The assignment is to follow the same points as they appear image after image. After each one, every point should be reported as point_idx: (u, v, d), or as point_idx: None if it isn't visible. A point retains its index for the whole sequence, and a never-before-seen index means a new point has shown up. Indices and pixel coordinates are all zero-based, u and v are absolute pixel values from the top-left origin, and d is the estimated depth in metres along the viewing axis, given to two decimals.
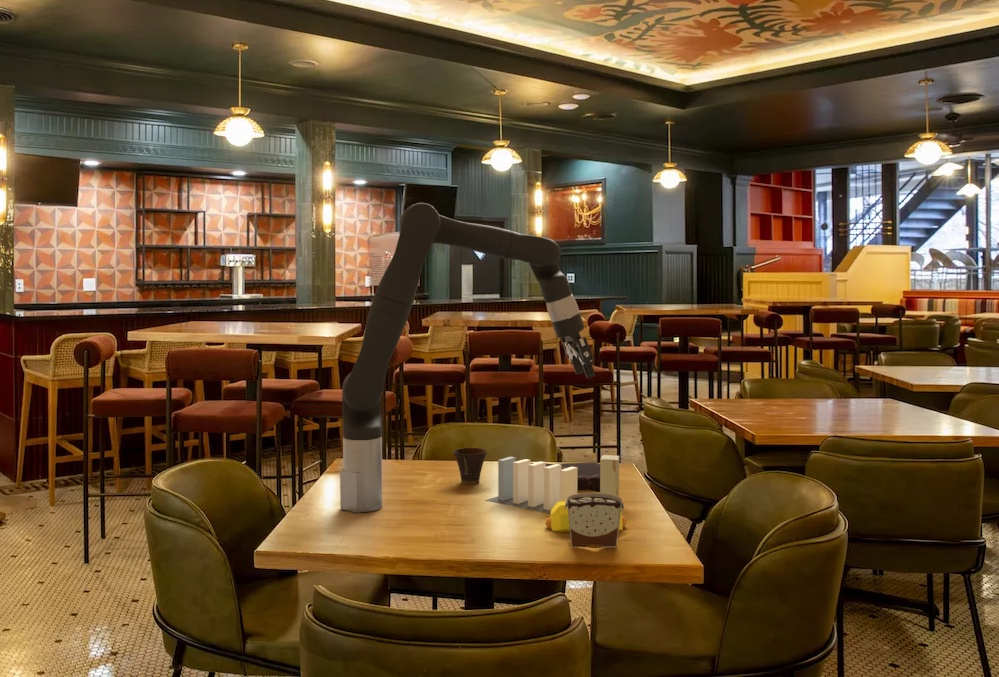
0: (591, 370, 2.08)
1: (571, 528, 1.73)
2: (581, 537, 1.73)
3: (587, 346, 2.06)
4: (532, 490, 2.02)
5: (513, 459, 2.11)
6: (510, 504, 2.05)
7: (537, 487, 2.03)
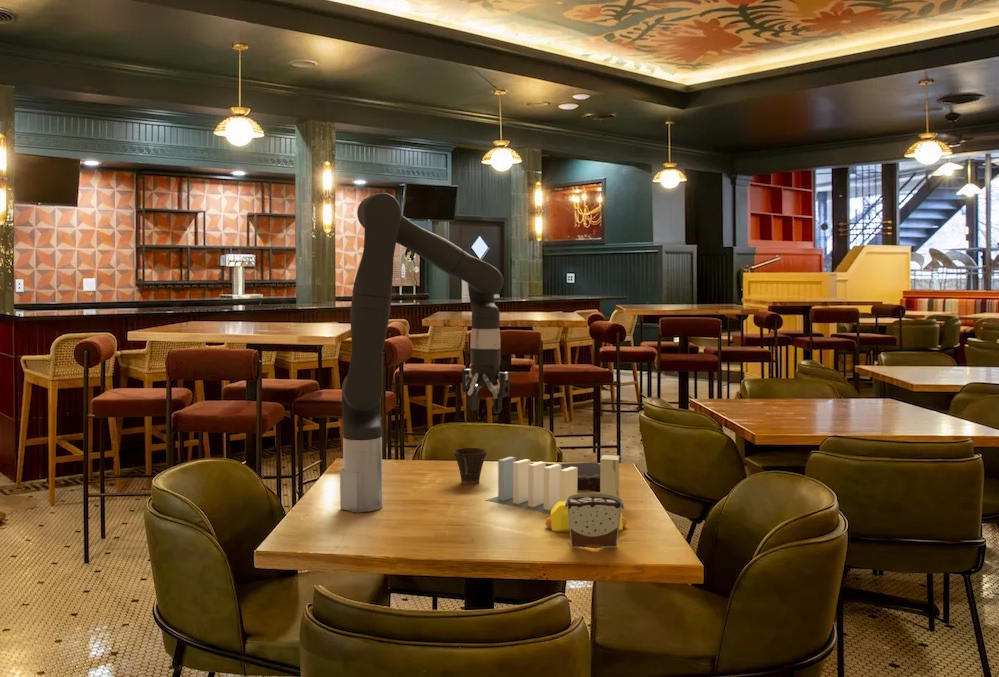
0: (500, 406, 2.11)
1: (571, 528, 1.73)
2: (581, 537, 1.73)
3: (508, 381, 2.09)
4: (532, 490, 2.02)
5: (513, 459, 2.11)
6: (510, 504, 2.05)
7: (537, 487, 2.03)
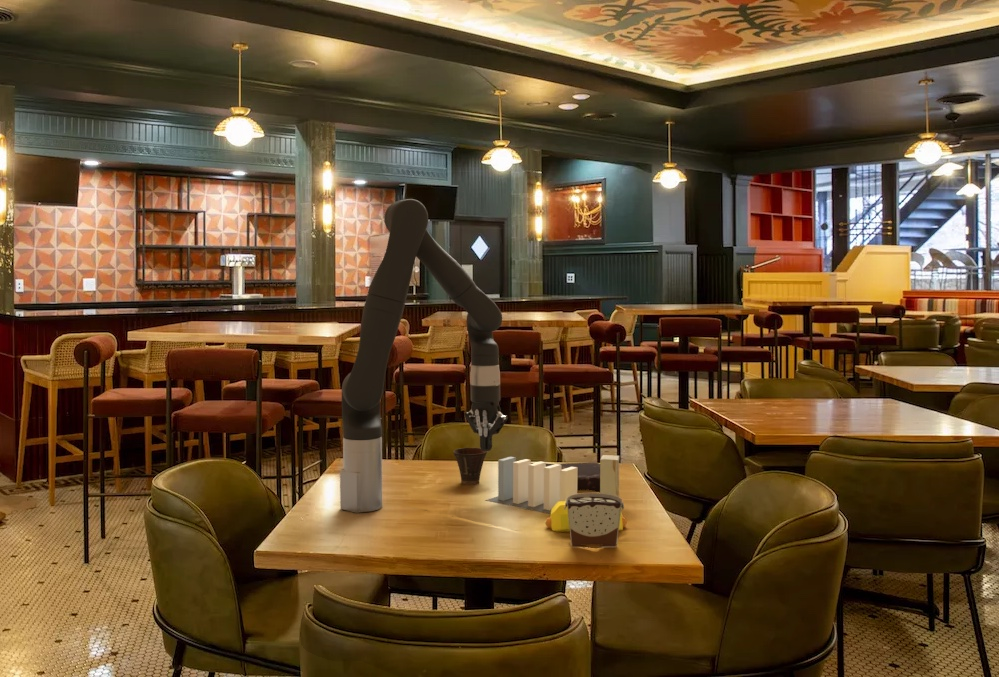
0: (491, 443, 2.13)
1: (571, 528, 1.73)
2: (581, 537, 1.73)
3: (503, 424, 2.11)
4: (532, 490, 2.02)
5: (513, 459, 2.11)
6: (510, 504, 2.05)
7: (537, 487, 2.03)
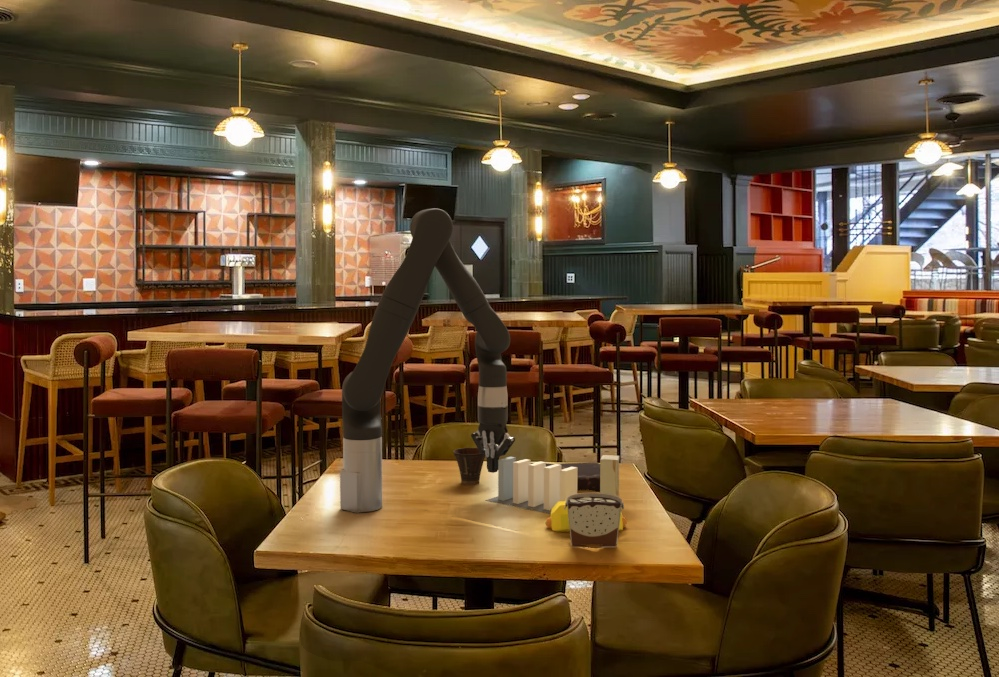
0: (497, 465, 2.12)
1: (571, 528, 1.73)
2: (581, 537, 1.73)
3: (510, 446, 2.10)
4: (532, 490, 2.02)
5: (513, 459, 2.11)
6: (510, 504, 2.05)
7: (537, 487, 2.03)
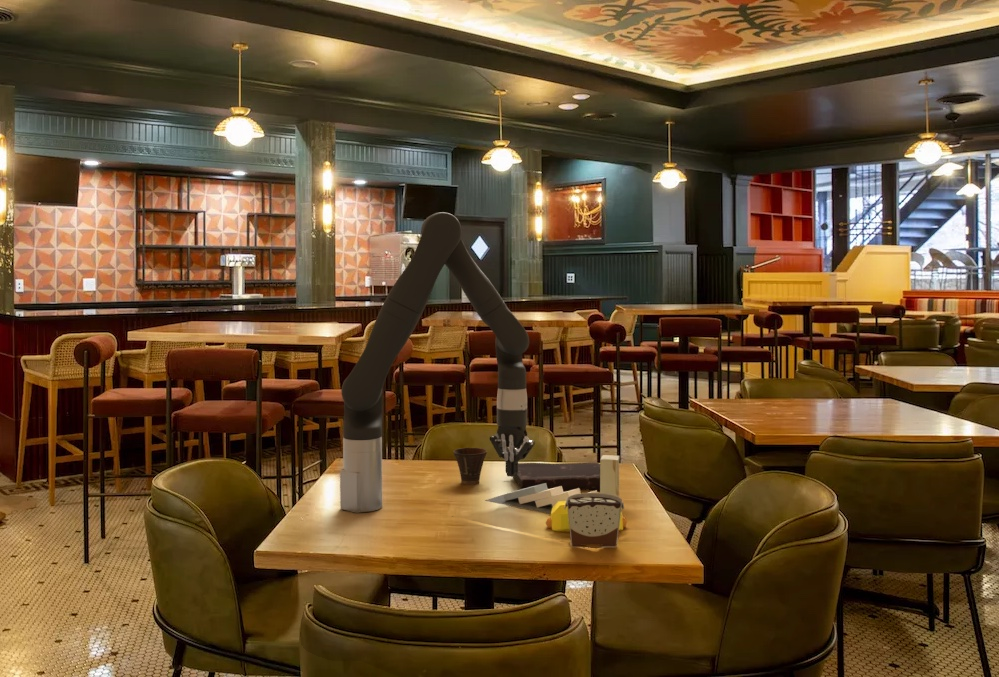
0: (516, 469, 2.08)
1: (571, 528, 1.73)
2: (581, 537, 1.73)
3: (529, 449, 2.06)
4: (549, 502, 1.99)
5: None
6: (510, 504, 2.05)
7: None
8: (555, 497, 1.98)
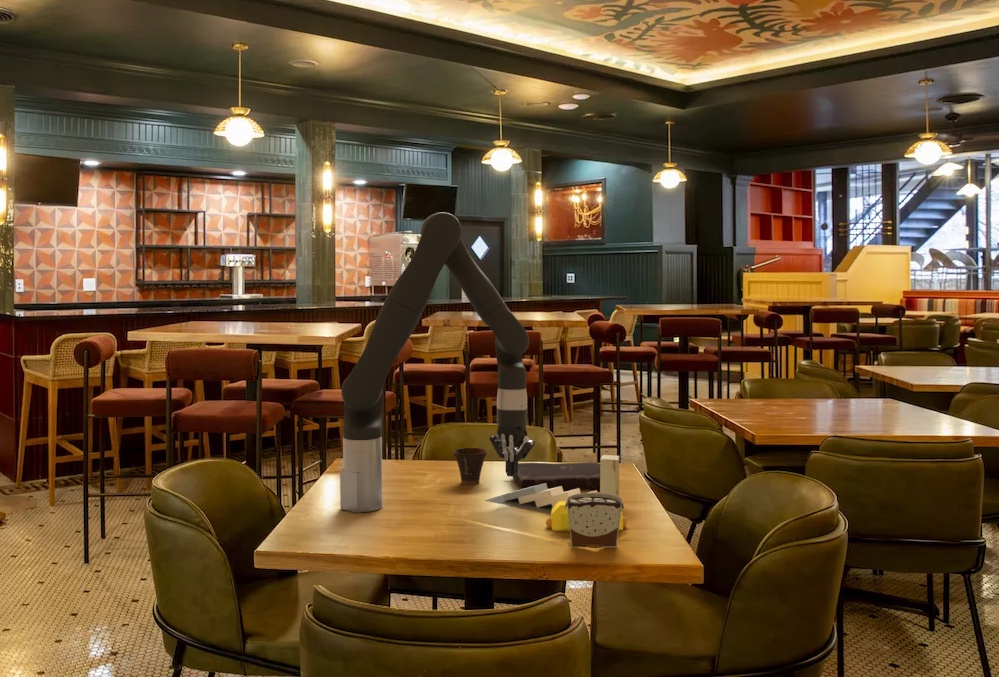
0: (516, 469, 2.08)
1: (571, 528, 1.73)
2: (581, 537, 1.73)
3: (529, 449, 2.06)
4: (549, 502, 1.99)
5: None
6: (510, 504, 2.05)
7: None
8: (555, 497, 1.98)
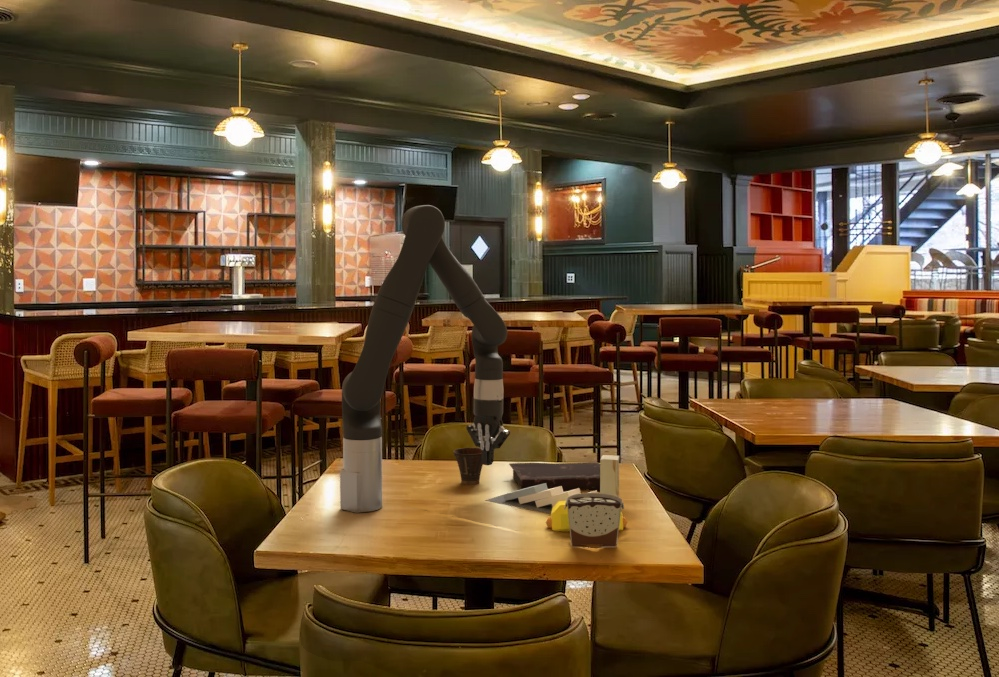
0: (492, 458, 2.13)
1: (571, 528, 1.73)
2: (581, 537, 1.73)
3: (505, 439, 2.11)
4: (549, 502, 1.99)
5: None
6: (510, 504, 2.05)
7: None
8: (555, 497, 1.98)
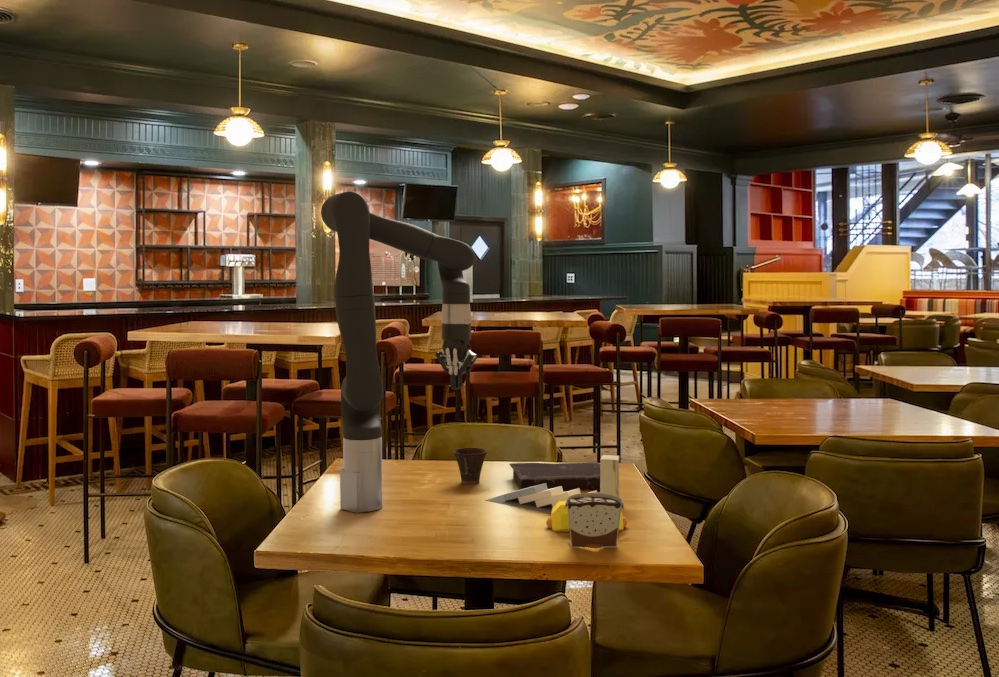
0: (461, 382, 2.16)
1: (571, 528, 1.73)
2: (581, 537, 1.73)
3: (473, 362, 2.14)
4: (549, 502, 1.99)
5: None
6: (510, 504, 2.05)
7: None
8: (555, 497, 1.98)
